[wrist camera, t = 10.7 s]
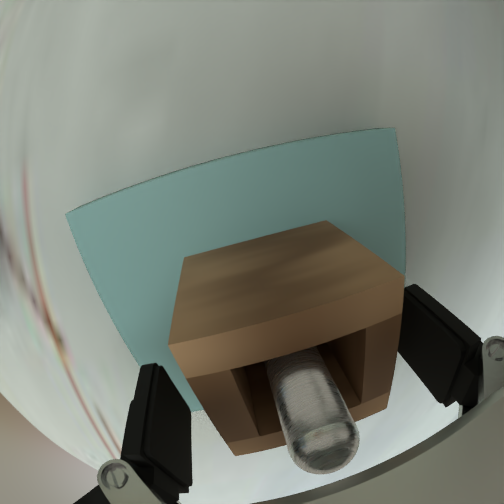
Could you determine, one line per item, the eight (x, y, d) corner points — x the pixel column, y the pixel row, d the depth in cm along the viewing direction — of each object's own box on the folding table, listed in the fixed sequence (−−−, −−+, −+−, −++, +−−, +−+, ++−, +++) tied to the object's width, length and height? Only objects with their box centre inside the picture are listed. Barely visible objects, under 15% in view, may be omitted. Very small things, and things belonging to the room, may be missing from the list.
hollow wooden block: (326, 220, 13) (404, 275, 7) (337, 331, 15) (386, 408, 9) (184, 257, 12) (167, 344, 7) (224, 363, 15) (235, 456, 9)
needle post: (285, 278, 13) (373, 440, 5) (292, 311, 14) (367, 467, 6) (244, 290, 13) (292, 470, 5) (254, 322, 14) (301, 490, 6)
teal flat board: (378, 128, 13) (394, 127, 11) (389, 334, 18) (399, 346, 17) (78, 207, 12) (65, 214, 11) (174, 398, 17) (173, 414, 16)
